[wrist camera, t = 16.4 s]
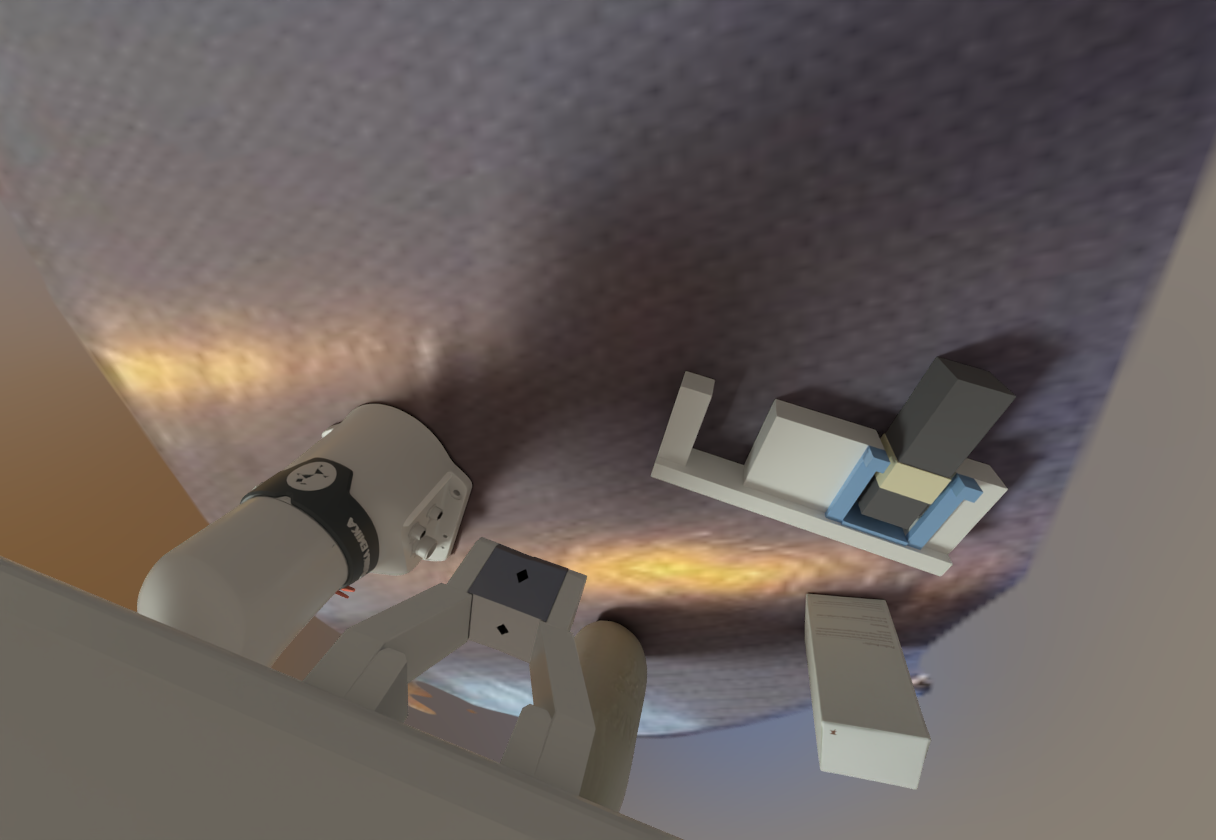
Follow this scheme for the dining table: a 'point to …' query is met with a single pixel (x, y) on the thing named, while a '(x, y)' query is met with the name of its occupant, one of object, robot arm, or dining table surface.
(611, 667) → the glass bottle
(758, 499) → the white angular block assembly
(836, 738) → the supplement box
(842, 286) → the dining table surface
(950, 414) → the banded gray post
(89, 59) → the dining table surface
